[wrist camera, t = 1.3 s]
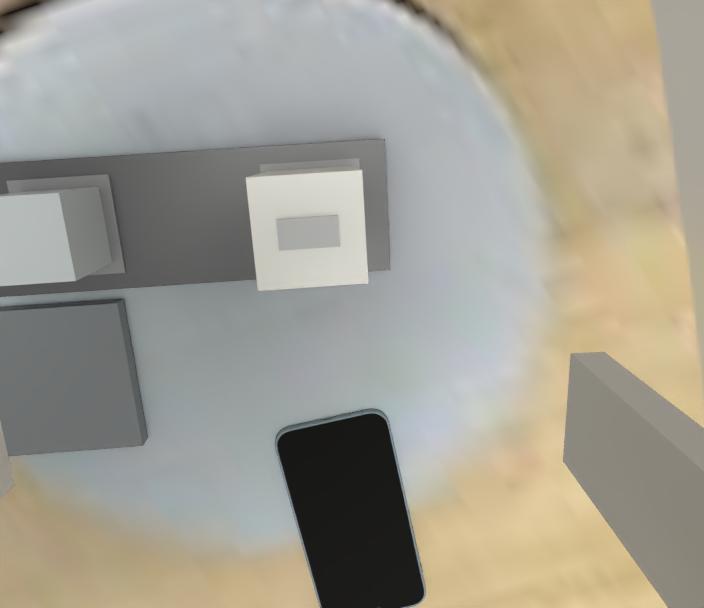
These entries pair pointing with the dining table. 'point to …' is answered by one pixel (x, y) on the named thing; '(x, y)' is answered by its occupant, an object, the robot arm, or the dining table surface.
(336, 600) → the smartphone
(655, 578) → the robot arm
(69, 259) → the cube
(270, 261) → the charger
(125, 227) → the power strip
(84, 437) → the coaster
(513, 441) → the dining table surface
